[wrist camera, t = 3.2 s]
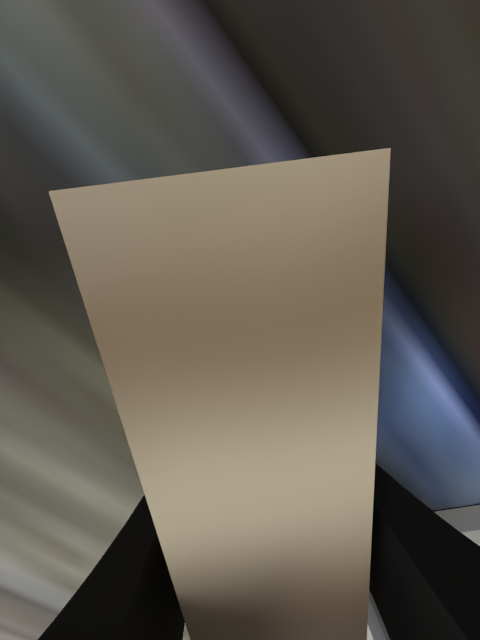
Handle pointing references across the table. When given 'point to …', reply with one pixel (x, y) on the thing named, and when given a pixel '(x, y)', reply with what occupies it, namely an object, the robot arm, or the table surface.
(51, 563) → the table surface
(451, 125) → the table surface
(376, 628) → the balance stand
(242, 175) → the ash beam
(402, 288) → the table surface
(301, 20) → the table surface
